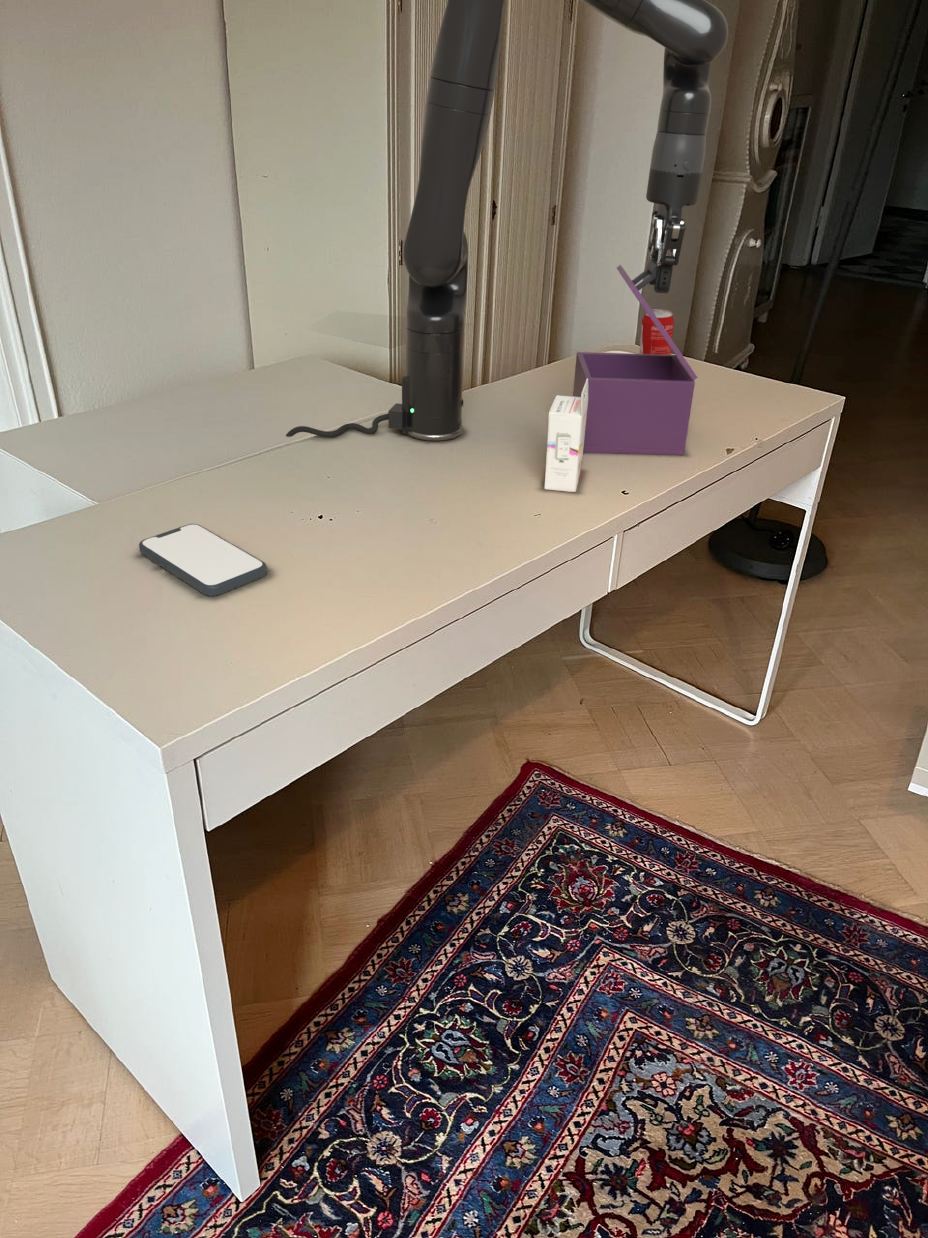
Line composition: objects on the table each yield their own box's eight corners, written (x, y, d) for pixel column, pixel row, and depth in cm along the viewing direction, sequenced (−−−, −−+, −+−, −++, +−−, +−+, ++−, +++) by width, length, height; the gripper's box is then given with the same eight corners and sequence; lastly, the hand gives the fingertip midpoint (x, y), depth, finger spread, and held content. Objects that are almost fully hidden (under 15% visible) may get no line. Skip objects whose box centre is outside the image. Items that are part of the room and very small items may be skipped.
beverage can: (671, 391, 182) (682, 310, 175) (658, 399, 178) (669, 317, 170) (642, 385, 185) (652, 305, 177) (628, 393, 180) (638, 312, 173)
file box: (579, 452, 153) (586, 378, 147) (570, 420, 166) (576, 351, 160) (683, 455, 154) (695, 382, 147) (666, 422, 167) (676, 354, 161)
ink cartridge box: (549, 468, 147) (557, 373, 139) (581, 471, 146) (591, 376, 139) (542, 489, 140) (549, 391, 132) (576, 493, 139) (585, 394, 131)
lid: (630, 288, 140) (662, 263, 138) (616, 267, 153) (645, 244, 152) (693, 380, 147) (724, 358, 146) (675, 353, 160) (703, 332, 159)
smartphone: (272, 576, 115) (196, 531, 125) (271, 564, 115) (195, 520, 124) (209, 601, 110) (135, 553, 119) (208, 589, 109) (133, 541, 118)
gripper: (643, 160, 145) (627, 277, 154) (659, 171, 133) (641, 297, 141) (692, 163, 145) (673, 280, 154) (712, 174, 133) (691, 300, 142)
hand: (658, 287), depth 148 cm, fingers closed on lid, 5 cm apart
